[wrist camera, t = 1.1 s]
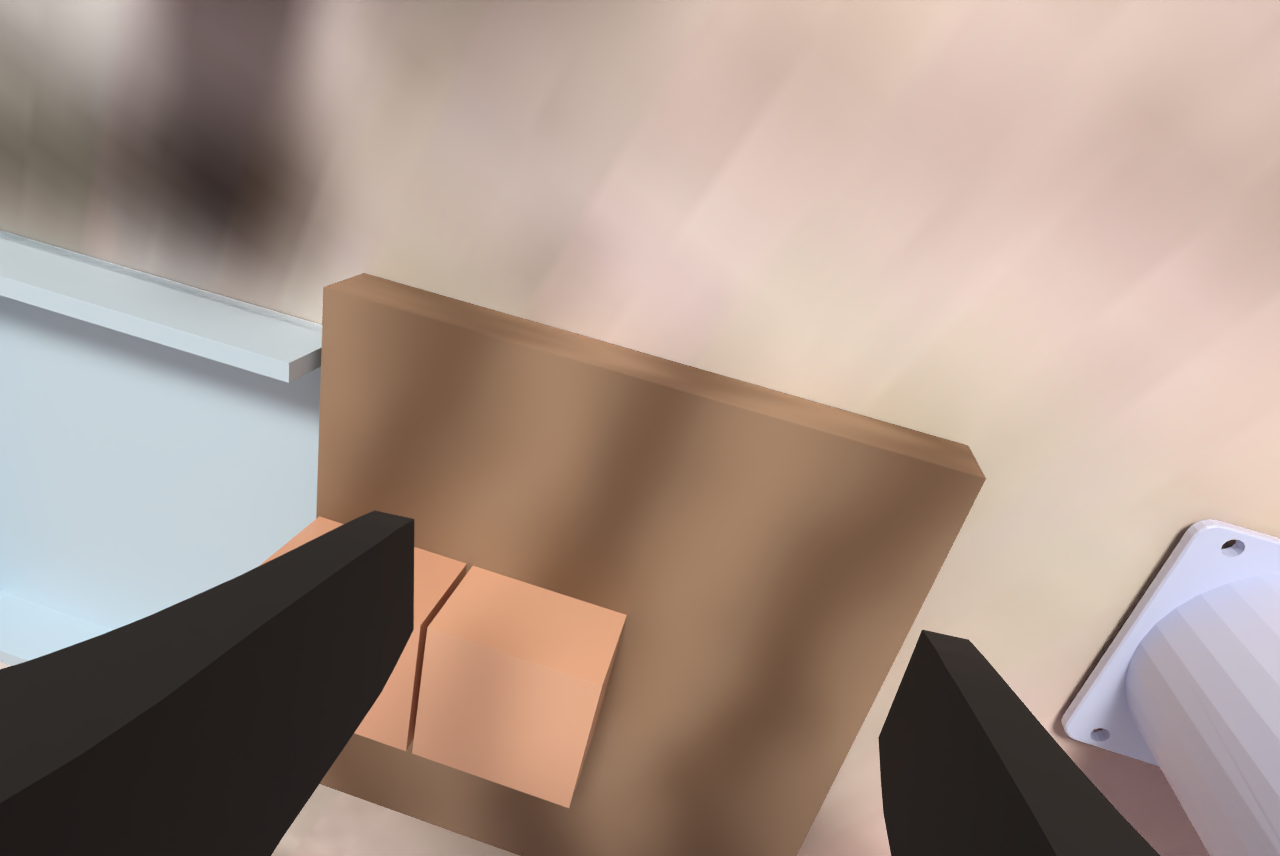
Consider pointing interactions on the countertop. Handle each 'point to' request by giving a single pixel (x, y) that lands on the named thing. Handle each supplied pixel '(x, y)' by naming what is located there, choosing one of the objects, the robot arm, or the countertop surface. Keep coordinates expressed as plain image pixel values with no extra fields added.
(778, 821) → the board
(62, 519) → the tray
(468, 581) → the tile
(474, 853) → the countertop surface
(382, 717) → the tile
